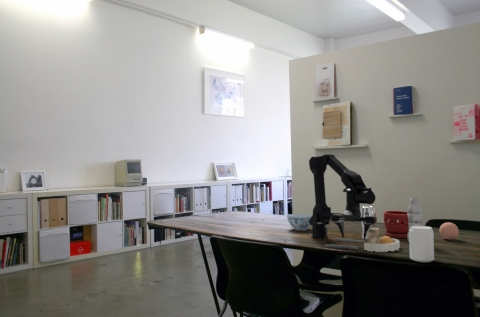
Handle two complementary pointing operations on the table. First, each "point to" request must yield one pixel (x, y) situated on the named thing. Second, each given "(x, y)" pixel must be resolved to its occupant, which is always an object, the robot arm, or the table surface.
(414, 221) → the plastic bottle
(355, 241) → the launcher rails
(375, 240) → the launcher plunger
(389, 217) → the plant pot
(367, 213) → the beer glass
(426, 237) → the beverage can
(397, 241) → the ring
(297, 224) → the chinaware
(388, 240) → the rubber ball
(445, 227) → the toy ball
